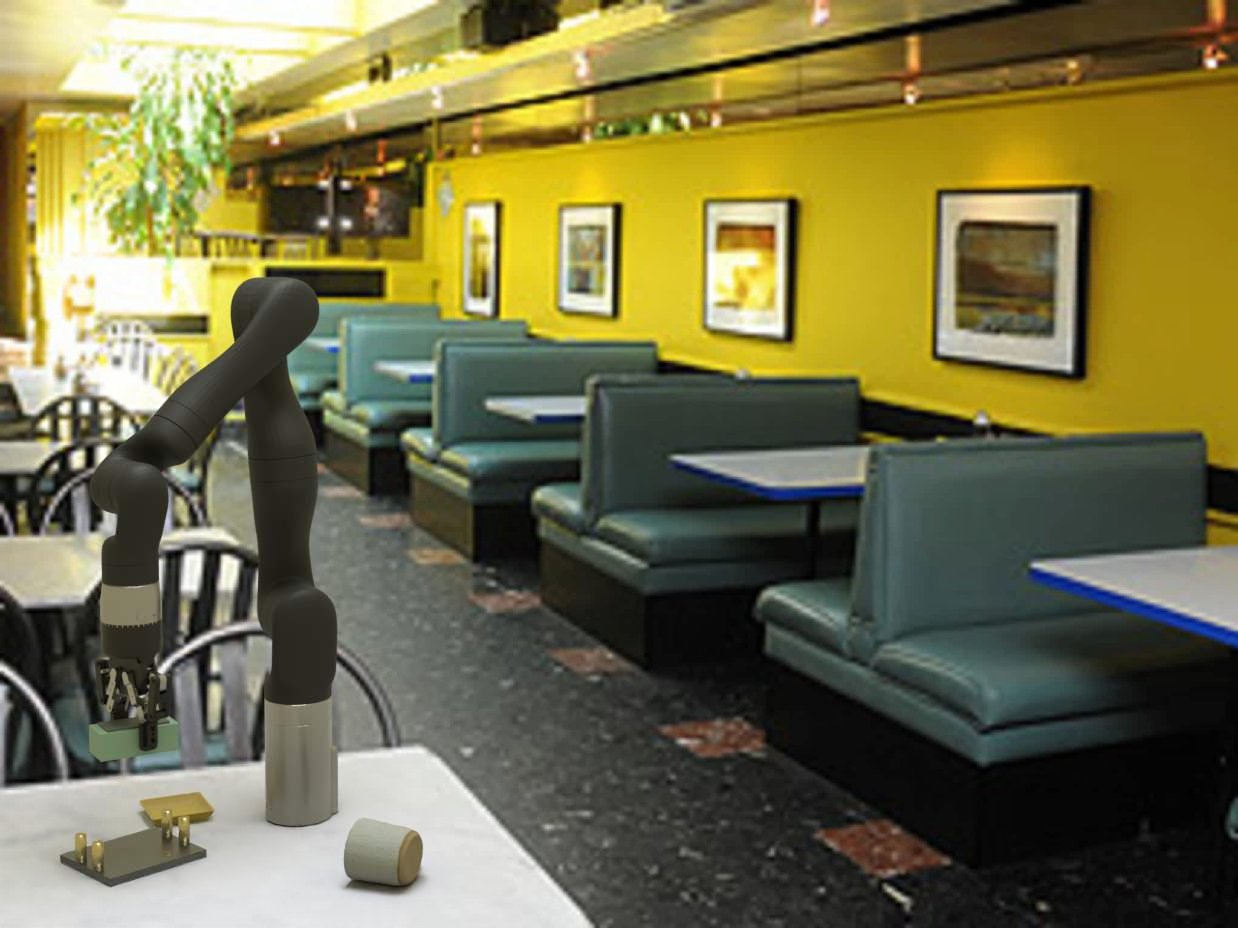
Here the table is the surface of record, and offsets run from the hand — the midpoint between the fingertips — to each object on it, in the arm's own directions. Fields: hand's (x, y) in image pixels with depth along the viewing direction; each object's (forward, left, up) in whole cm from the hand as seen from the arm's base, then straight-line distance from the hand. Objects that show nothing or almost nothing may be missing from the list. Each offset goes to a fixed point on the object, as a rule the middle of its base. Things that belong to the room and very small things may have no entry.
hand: (134, 744), depth 207 cm
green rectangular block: (0, 0, -1) cm, 1 cm away
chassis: (0, -1, -16) cm, 16 cm away
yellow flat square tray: (-13, -11, -16) cm, 23 cm away
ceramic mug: (-19, +28, -16) cm, 37 cm away
